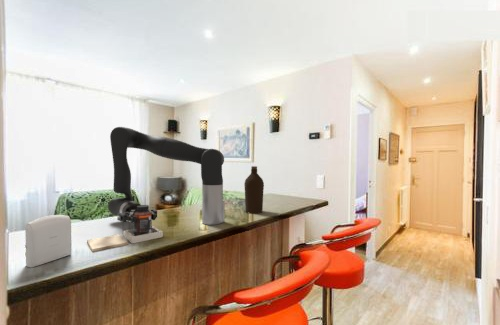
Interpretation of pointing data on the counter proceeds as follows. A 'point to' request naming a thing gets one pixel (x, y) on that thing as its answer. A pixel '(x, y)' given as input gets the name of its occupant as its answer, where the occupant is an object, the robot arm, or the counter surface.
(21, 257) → the counter surface
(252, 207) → the olive oil
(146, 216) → the supplement bottle
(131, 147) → the robot arm
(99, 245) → the pad
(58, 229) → the photo printer
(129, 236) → the white square tray
